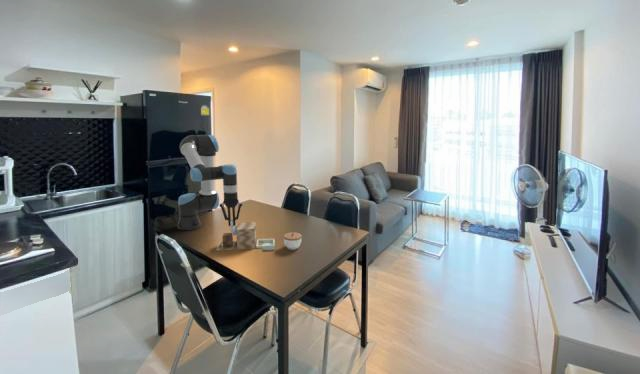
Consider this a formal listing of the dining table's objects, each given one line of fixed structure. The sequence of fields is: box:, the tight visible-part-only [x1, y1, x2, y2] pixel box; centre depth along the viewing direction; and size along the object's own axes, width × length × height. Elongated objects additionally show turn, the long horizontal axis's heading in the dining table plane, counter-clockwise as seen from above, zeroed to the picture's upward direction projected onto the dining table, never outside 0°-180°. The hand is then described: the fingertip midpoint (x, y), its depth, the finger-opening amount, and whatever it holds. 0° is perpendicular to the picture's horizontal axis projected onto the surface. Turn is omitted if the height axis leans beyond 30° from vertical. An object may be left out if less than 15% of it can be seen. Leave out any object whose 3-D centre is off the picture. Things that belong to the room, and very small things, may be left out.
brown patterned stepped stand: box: [215, 221, 257, 251], centre depth 178 cm, size 22×12×14 cm, turn 99°
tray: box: [255, 238, 276, 251], centre depth 181 cm, size 11×11×3 cm
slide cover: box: [232, 225, 238, 236], centre depth 178 cm, size 10×10×2 cm
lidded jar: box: [283, 232, 302, 251], centre depth 180 cm, size 11×11×9 cm
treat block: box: [222, 232, 234, 248], centre depth 177 cm, size 5×5×7 cm
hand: (232, 230), depth 177 cm, fingers closed
